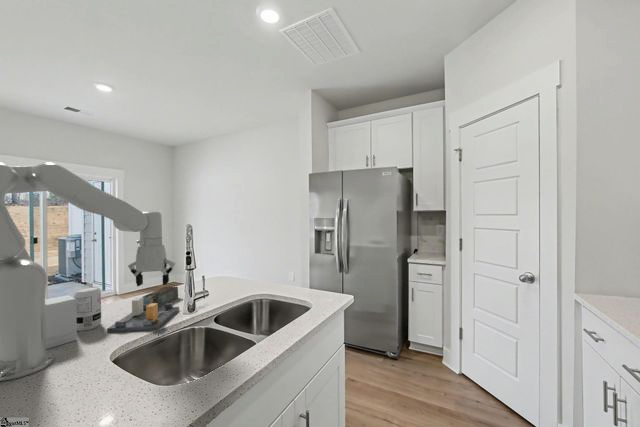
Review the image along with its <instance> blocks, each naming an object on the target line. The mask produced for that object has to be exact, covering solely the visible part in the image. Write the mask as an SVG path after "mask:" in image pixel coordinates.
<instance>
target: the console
mask: <svg viewBox="0 0 640 427" xmlns="http://www.w3.org/2000/svg"><path fill="white" fill-rule="evenodd" d="M148 305H149V304H144V305H143V313H141V314H140V315H137V316H132V312H131V313H128V314H127V315H126V316H124V317H123V318H121V319H120V320H116V321H115V322H114V323H113V324H112V325H111V326H108V327H107V329H106V333H124V332H125V333H127V332H144V331H157V330H160V328H161V327H162V326H164V325H165V324H166V323H167V322H168V321H169V320H170V319H172V317H173V316H175V315H176V313H178V312H179V311H180V306H174V303H172V302H171V303H170V302H169V303H167V304H165V305H164V307H159V308H158V319H157V320H156V321H155V322H153V319H146V306H148Z"/></svg>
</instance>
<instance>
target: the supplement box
mask: <svg viewBox="0 0 640 427" xmlns="http://www.w3.org/2000/svg"><path fill="white" fill-rule="evenodd" d="M45 311H46V350H48V349H51V348H54V347H57V346H61V345H64V344H68V343H71V342H75V341H77V340H78V334H77V332H78V331H77V315H76V299H75V298H74V296H73V297H72V296H71V295H68V294H67V295H61V296H57V297H51V298H45Z"/></svg>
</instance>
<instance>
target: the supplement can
mask: <svg viewBox="0 0 640 427" xmlns="http://www.w3.org/2000/svg"><path fill="white" fill-rule="evenodd" d="M101 293H102V292H101V290H100V288H99V287H98V286H97V287H96V286H94V287H93V286H91V287H85V288H80V289H77V290H75V292H74V294H73V298H75V299H76V315H77V332H84V331H85V332H86V331H89V330H90V331H91V330H93V329H95V328H97V327H100V325H101V324H102V294H101Z"/></svg>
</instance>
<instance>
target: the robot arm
mask: <svg viewBox="0 0 640 427" xmlns="http://www.w3.org/2000/svg"><path fill="white" fill-rule="evenodd" d="M38 192H48V193H49V194H52V195H53V196H55V197H58V198H60V199H62V200H63V201H65V202H67V203H69V204H70V205H72V206H75V207H76V208H77V209H80V210H82V211H85V212H88V213H91V214H96V215H99V216H101V217H105V218H107V219H109V220H111V221H112V222H113V225H114V226H113V227H115V229H117V230H119V231H122V232H130V233H132V232H133V233H138V232H139V239H137V240H136V243H137V244H138V245H139V246H137V249H136V256H135V261H134V262H131V263H130V264H128V265H127V267H128V268H129V270H130V272H131V273H132V274H133V275H134V277H135V284H136V287H140V286H142V285H143V284H144V279H143V278H144V277H143V276H144V275H143V274H142V273H145V272H161V273H162V274H163V275H162V285H163V286H166V285H167V284H169V281H170V275H169V274H170V273H171V272H172V271H173V270H174V268H175V266H176V262H174V261H172V260H170V259H168V258H167V252H166V248H165V245H164V244H163V231H162V230H163V229H162V228H163V227H162V226H163V225H162V213H161V212H159V211H141V210H139V209H137V208H136V207H135V206H134V205H132V204H130V203H128V202H126V201H125V200H123V199H120V198H118V197H116V196H114V195H112V194H110V193H109V192H106V191H104V190H102V189H100V188H98V187H96V186H94V185H93V184H92V183H89V182H88V181H87V180H85V179H84V178H82V177H80V176H79V175H77V174H75V173H73V172H72V171H71V170H68V169H67V168H65V167H63V166H62V165H59V164H57V163H54V162H43V163H40V164H37V165H16V166H14V165H8V164H5V163H3V162H0V382H3V381H5V382H6V381H10V380H15V379H19V378H23V377H25V376H29V375H32V374H34V373H37V372H38V371H41V370H43V369H45V368H46V367H48V366H49V365H50V364H52V363H53V361H54V355H53V354H51V353H47V349H46V311H45V300H46V294H47V293H46V292H47V291H46V290H47V284H48V275H47V272H46V270H45V268H44V267H43V265H41V264H39V263H37V262H35V261H33V260H32V258H31V257H30V255H29V252H28V251H27V250H26V248H25V247H26V239H25V237H24V235H23V234H22V233H21V231H20V230H19V228H18V227H17V225H16V223H15V221H14V219H13V218H12V216H11V213H10V211H8V208H7V207H6V203H5V198H6V194H8V195H9V194H21V193H22V194H23V193H26V194H27V193H28V194H29V193H38ZM168 265H169V268H168Z"/></svg>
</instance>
